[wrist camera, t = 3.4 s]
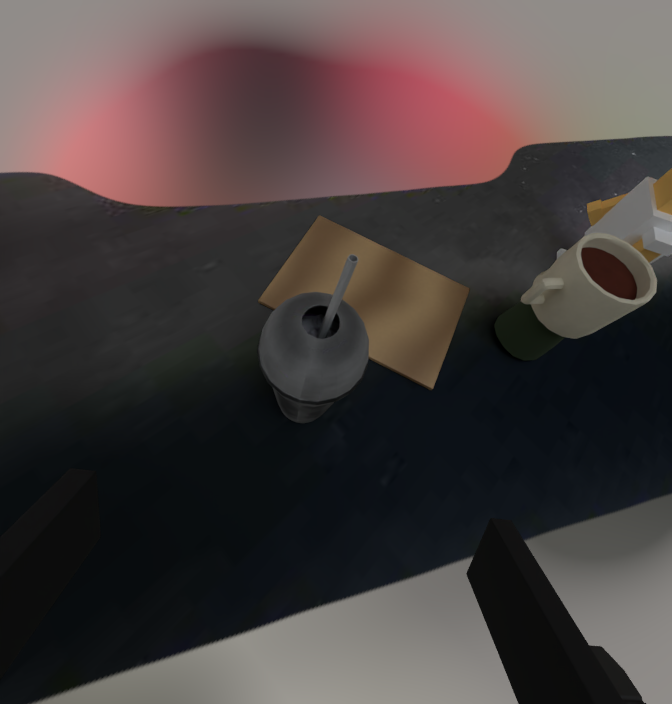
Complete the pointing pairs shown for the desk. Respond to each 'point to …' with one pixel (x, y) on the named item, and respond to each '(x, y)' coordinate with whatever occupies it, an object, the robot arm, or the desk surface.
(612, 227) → the character figure
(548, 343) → the character mug
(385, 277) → the cork mat
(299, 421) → the beverage cup
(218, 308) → the desk surface
